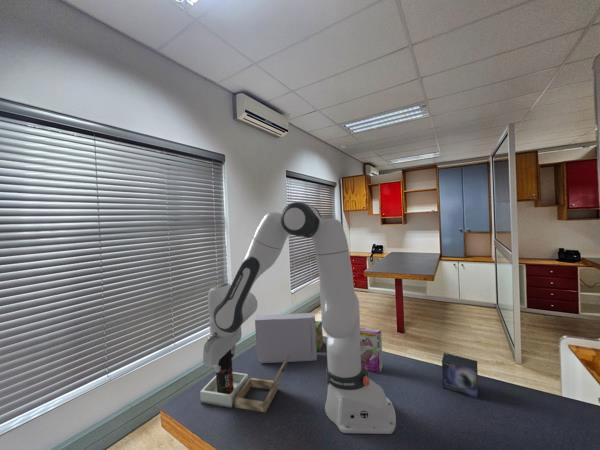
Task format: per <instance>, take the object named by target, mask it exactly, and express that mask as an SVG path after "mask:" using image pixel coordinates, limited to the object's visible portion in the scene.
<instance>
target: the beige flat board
mask: <svg viewBox="0 0 600 450" xmlns="http://www.w3.org/2000/svg"><path fill="white" fill-rule="evenodd" d="M288 358H289V355H288V356H287V357H286V359H285V361H284V362H282V364H281V366H280V367H279V369H278V370H277V373H276V376H275V377H274V380H273V381H274V382H273V385H272V387H271V389H269V392H268V393H269V394H268V393H267V395H268V397H267V396H266V397H267V399H266V398H265V399H266V402H265V403H266V404H267V402H268V400H269V398H270V397H271V395H272V393H273V391H274V389H275V387H276V386H277V384H278V385H279V382H280V380H281V377H282V374H283V373H284V372H285V370H286V369H287V366H288V364H289V362H287V360H288Z"/></svg>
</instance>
